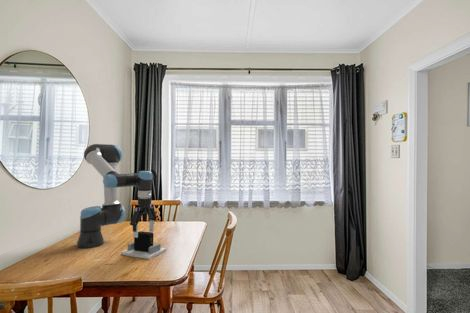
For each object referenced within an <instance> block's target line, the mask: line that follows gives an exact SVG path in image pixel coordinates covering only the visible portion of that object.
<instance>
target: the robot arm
mask: <svg viewBox="0 0 470 313" xmlns="http://www.w3.org/2000/svg"><path fill="white" fill-rule="evenodd" d="M83 158H84V160H85V161H86V163H88V164H89V165H92V167H93V168H94V169H95V170H96V171H97V172H98V173H99V175H100V176H101V177H102V183H103V197H104V202H103V203H102V206H100V205H95V206H89V207H85V208H83V209H82V210H81V211H80V216H79V220H80V222H79V223H80V224H79V226H80V227H79V228H80V230H79V235H78V238H77V239H78V240H77V242H76V247H77V248H80V249H88V248H89V249H90V248H95V247H99V246H102V245H103V244H104V243H105V241H104V237H103V234H102V227H104V226H109V225H116V224H119V223H122V222H123V220H124V218H125V216H126V215H125V214H126V209H125V206H124V205H122V202H120V201H119V190H118V188H124V187H125V188H128V187H137V205H138V207H134V211H133V214H132V216H131V219H130V222H129V226H132V237H133V238H134V237H136V238H137V237H138V232H139V225H138V224H139V222H140V220H141V218H142V216H144V215H145V214H146V215H147V216H148V218H149V219H150V220H149V223H148V224H149V228H148V232H152V233H154V231H155V221H157V213H156V211H155V205H154V204H153V203H152V188H153V187H152V184H153V172H152V171H150V170H140V171H138V173H136V172H133V173H118V166H119V164H120V162H121V161H122V158H123V152H122V149H121V147H120V146H119V145H116V144H104V143H93V144H90V145H89V146H87V147H86V148H85V149H84V151H83Z"/></svg>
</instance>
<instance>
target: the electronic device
mask: <svg viewBox="0 0 470 313" xmlns="http://www.w3.org/2000/svg"><path fill="white" fill-rule="evenodd" d="M133 242H134V250H135V251H144V252H149V247H151V246H153V245H154V232H151V231H141V230H140V231H139V230H138V237H137V238H136V237H133Z"/></svg>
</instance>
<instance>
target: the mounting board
mask: <svg viewBox="0 0 470 313" xmlns="http://www.w3.org/2000/svg"><path fill="white" fill-rule="evenodd" d="M165 252H167V247H166V248H164V247H161V243H156V244H153V246H151V247H149V252H144V251H135V250H134V241H132V242H129V243H128V244H127V249H125V250H122V251H121V252H120V255H123V256H128V257H134V258H141V259H147V260H151V259H154V258H155V257H157V256H160V255H161V254H163V253H165Z"/></svg>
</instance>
